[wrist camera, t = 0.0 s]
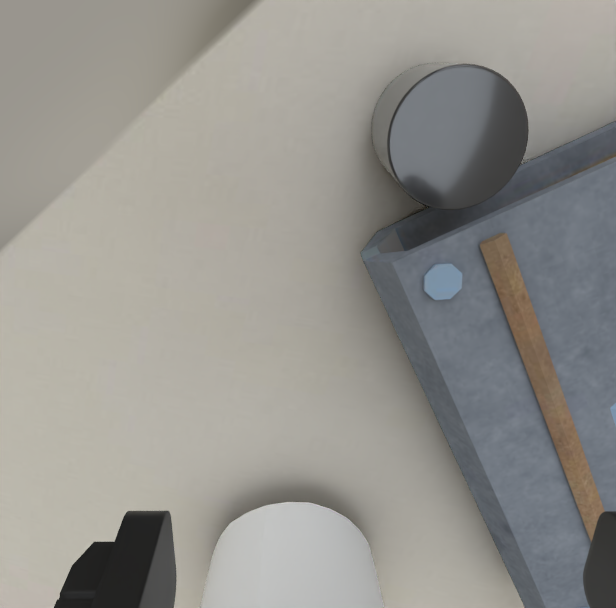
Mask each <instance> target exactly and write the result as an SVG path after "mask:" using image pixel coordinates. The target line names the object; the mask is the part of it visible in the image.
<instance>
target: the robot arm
mask: <svg viewBox="0 0 616 608" xmlns="http://www.w3.org/2000/svg"><path fill="white" fill-rule="evenodd" d="M583 585H584V591H585V595H586V599H587V602H588V604H589V606H590V608H616V511H605V512H603V513H602V514H601V515H600V516H599V518H598V521H597V525H596V528H595V532H594V535H593V539H592V542H591V546H590V549H589V553H588V556H587V560H586V563H585V567H584V571H583ZM175 593H176V564H175V554H174V543H173V533H172V523H171V515H170V512H169V511H128V512H127V513H126V514H125V516H124V518H123V521H122V523H121V526H120V529H119V531H118V534H117V537H116V540H115V542H94V543H93V544H92V545H91V546H90V547H89V548H88V549H87V550H86V551H85V552H84V554H83V555H82V556H81V557H80V558H79V559H78V560H77V561H76V562H75V563H74V564H73V565H72V567H71V569H70V572H69V574H68V576H67V579H66V581H65V583H64V586H63V588H62V590H61V592H60V598H59V600H57V602H56V604H55V606H54V608H173V607H174V601H175Z"/></svg>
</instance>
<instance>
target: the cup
mask: <svg viewBox="0 0 616 608" xmlns="http://www.w3.org/2000/svg"><path fill="white" fill-rule="evenodd" d="M200 608H384V604H383V599H382V595H381V590H380V586H379V582H378V577H377V573H376V569H375V565H374V561H373V557H372V553H371V549H370V545H369V543H368V542H367V540H366V538H365V537H364V535H363V534H362V532H361V530H359V529H358V528H357V527H356V526H355V525H354V524H353V523H352V522H351V521H350V520H349V519H348V518H347V517H345V516H343V515H341V514H339V513H337V512H335V511H333V510H332V509H330V508H326V507H323V506H320V505H317V504H313V503H310V502H284V503H277V504H270V505H265V506H263V507H260V508H257V509H255V510H252V511H250V512H247V513H245V514H244V515H242V516H241V517H239V518H237V519H236V520H234V521H233V522H231V523H230V524H229V525H228V527H227V528H226V529H225V531H224V532H223V533H222V534H221V536H220V537H219V540H218V542H217V544H216V547H215V549H214V552H213V555H212V559H211V563H210V567H209V571H208V575H207V578H206V583H205V587H204V591H203V596H202V600H201V604H200Z"/></svg>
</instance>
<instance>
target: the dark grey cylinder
mask: <svg viewBox="0 0 616 608" xmlns="http://www.w3.org/2000/svg"><path fill="white" fill-rule="evenodd" d="M371 132H372V141H373V146H374V149H375V152H376V154H377V156H378V158H379V160H380V162H381V163H382V165H383V166H384V167H385V168H386V170H387V171H388V172H389V173H390V174H391V175H392V177H393V178H394V179H395V180H396V181H397V183H398V184H399V185H400V186H401V187H402V189H403V190H404V191H405V192H406V193H407V194H408V195H409V196H411V197H412V198H413V199H415V200H416V201H418V202H420V203H422V204H424V205H426V206H429V207H432V208H436V209H441V210H460V209H465V208H469V207H472V206H475V205H478V204H480V203H482V202H484V201H486V200H488V199H489V198H491V197H492V196H494V195H495V194H496V193H498V192H499V191H500V190H501V189H502V188H503V187H504V186H505V185H506V184H507V183H508V182H509V181H510V179H511V178H512V177H513V176H514V174H515V172H516V171H517V169H518V168H519V165H520V163H521V161H522V159H523V156H524V153H525V150H526V146H527V141H528V118H527V113H526V109H525V106H524V103H523V101H522V99H521V97H520V95H519V93H518V92H517V90H516V89H515V88H514V86H513V85H512V84H511V83H510V82H509V81H508V80H507V79H506V78H504V77H503V76H502V75H501V74H499V73H497V72H495V71H494V70H492V69H489V68H486V67H484V66H479V65H475V64H455V63H427V64H422V65H418V66H416V67H413V68H411V69H409V70H407V71H405V72H403V73H402V74H400V75H399V76H398V77H396V78H395V79H394V80H393V81H392V82H391V83H390V84H389V85H388V86H387V88H386V89H385V90H384V92H383V93H382V95H381V96H380V98H379V100H378V102H377V104H376V107H375V110H374V114H373V118H372V126H371Z"/></svg>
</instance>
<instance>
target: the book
mask: <svg viewBox="0 0 616 608" xmlns="http://www.w3.org/2000/svg"><path fill="white" fill-rule="evenodd" d="M361 256H362V259H363V262H364V264H365V266H366V268H367V270H368V272H369V274H370V277H371V279H372V281H373V283H374V285H375V287H376V289H377V292H378V294H379V296H380V298H381V300H382V302H383V304H384V307H385V309H386V311H387V313H388V315H389V317H390V319H391V322H392V324H393V326H394V328H395V330H396V332H397V334H398V337H399V339H400V341H401V343H402V345H403V347H404V349H405V352H406V354H407V356H408V358H409V360H410V362H411V364H412V367H413V369H414V371H415V373H416V375H417V377H418V379H419V381H420V384H421V386H422V388H423V390H424V392H425V394H426V396H427V399H428V401H429V403H430V405H431V407H432V409H433V411H434V414H435V416H436V418H437V420H438V422H439V424H440V426H441V429H442V431H443V433H444V435H445V437H446V439H447V441H448V444H449V446H450V448H451V450H452V452H453V454H454V456H455V459H456V461H457V463H458V465H459V467H460V469H461V471H462V474H463V476H464V478H465V480H466V482H467V484H468V486H469V489H470V491H471V493H472V495H473V497H474V499H475V501H476V504H477V506H478V508H479V510H480V512H481V514H482V516H483V518H484V521H485V523H486V525H487V527H488V529H489V531H490V533H491V536H492V538H493V540H494V542H495V544H496V546H497V548H498V551H499V553H500V555H501V557H502V559H503V561H504V563H505V566H506V568H507V570H508V572H509V574H510V576H511V578H512V581H513V583H514V585H515V587H516V589H517V591H518V593H519V596H520V598H521V600H522V602H523V604H524V606H525V608H590V606H589V604H588V602H587V599H586V595H585V591H584V585H583V571H584V567H585V563H586V560H587V556H588V553H589V549H590V546H591V542H592V539H593V535H594V532H595V528H596V525H597V521H598V518H599V516H600V515H601V514H602V513H603V512H605V511H616V121H615V122H613V123H611V124H609V125H606V126H604V127H602V128H600V129H598V130H596V131H593V132H591V133H589V134H587V135H585V136H583V137H580V138H578V139H576V140H574V141H572V142H570V143H567V144H565V145H563V146H561V147H559V148H557V149H555V150H552V151H550V152H548V153H546V154H544V155H542V156H539V157H537V158H535V159H533V160H531V161H529V162H526V163H524V164H522V165H520V166H519V168H518V169H517V171H516V172H515V174H514V176H513V177H512V178H511V179H510V181H509V182H508V183H507V184H506V185H505V186H504V187H503V188H502V189H501V190H500V191H499V192H498V193H496V194H495V195H494V196H492V197H491V198H489V199H488V200H486V201H484V202H482V203H480V204H478V205H475V206H472V207H469V208H465V209H460V210H441V209H436V208H432V207H429V208H427V209H425V210H423V211H421V212H418V213H416V214H414V215H412V216H410V217H408V218H405V219H403V220H401V221H399V222H397V223H395V224H392V225H390V226H388V227H386V228H384V229H382V230H380V231H377V232H376V234H375V235H374V236H373V238H372V239H371V240H370V241H369V243H368V244H367V245H366V247H365V248H364V249H363V250H362V252H361Z"/></svg>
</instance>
